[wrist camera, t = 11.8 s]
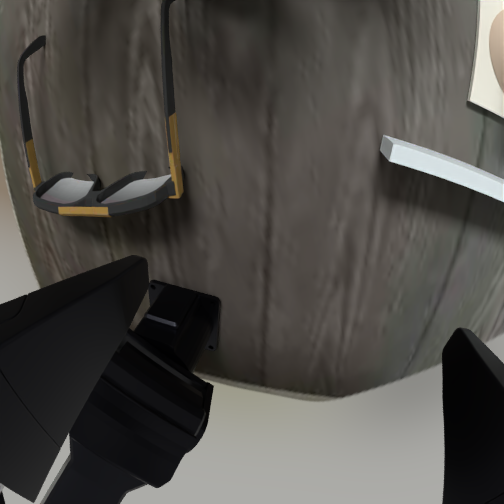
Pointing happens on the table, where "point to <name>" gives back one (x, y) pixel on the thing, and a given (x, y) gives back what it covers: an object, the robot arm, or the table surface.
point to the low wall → (442, 166)
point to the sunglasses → (87, 192)
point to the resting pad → (489, 58)
